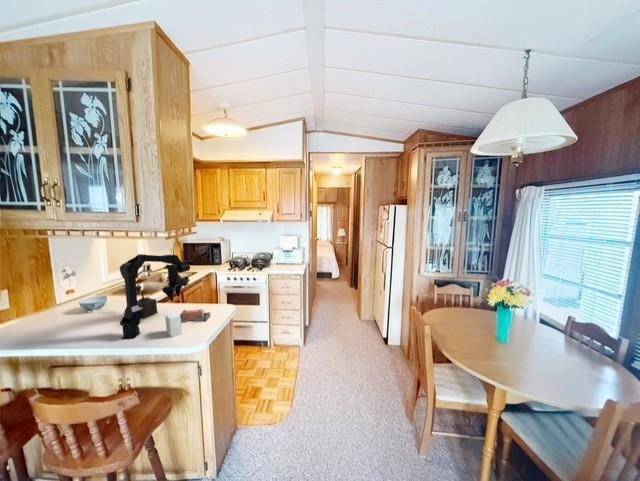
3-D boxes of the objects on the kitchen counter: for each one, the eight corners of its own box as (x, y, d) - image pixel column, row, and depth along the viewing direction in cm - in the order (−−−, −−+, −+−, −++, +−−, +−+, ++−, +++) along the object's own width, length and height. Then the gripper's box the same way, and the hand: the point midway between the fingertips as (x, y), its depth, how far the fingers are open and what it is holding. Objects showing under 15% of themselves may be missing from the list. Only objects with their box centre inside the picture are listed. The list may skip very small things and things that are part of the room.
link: (182, 320, 164) (181, 311, 164) (184, 318, 168) (183, 309, 167) (202, 319, 165) (201, 310, 165) (204, 317, 169) (203, 308, 168)
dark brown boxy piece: (158, 312, 180) (156, 286, 178) (143, 318, 169) (140, 291, 167) (141, 310, 185) (138, 284, 182) (125, 316, 174) (122, 289, 172)
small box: (182, 334, 148) (180, 315, 146) (171, 337, 144) (169, 318, 143) (177, 329, 153) (176, 311, 152) (166, 332, 150) (164, 314, 148)
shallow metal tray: (175, 323, 162) (174, 319, 162) (180, 317, 170) (180, 314, 169) (206, 321, 164) (206, 317, 163) (210, 316, 171) (210, 312, 171)
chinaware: (101, 305, 196) (100, 294, 195) (112, 308, 190) (111, 297, 189) (75, 312, 183) (74, 301, 182) (87, 315, 176) (85, 304, 175)
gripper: (180, 277, 160) (182, 303, 162) (192, 270, 178) (194, 293, 180) (160, 278, 159) (163, 304, 160) (174, 271, 177) (176, 294, 179)
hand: (175, 298), depth 170 cm, fingers open, 9 cm apart
